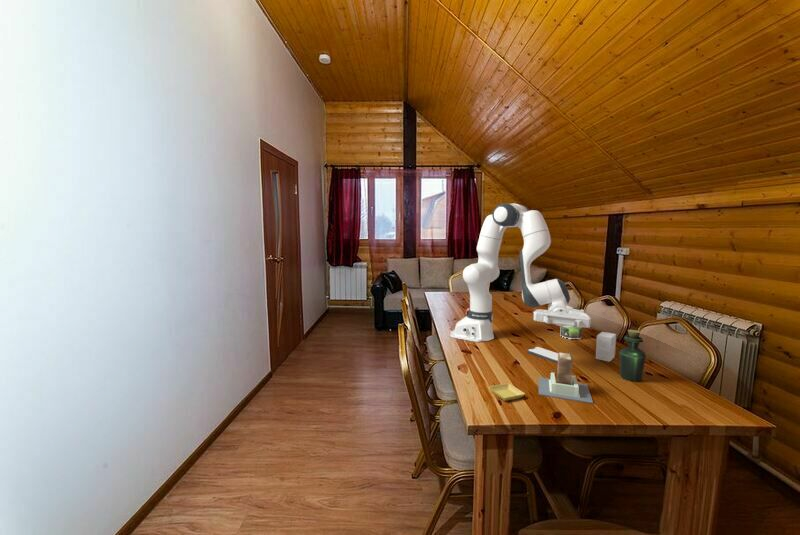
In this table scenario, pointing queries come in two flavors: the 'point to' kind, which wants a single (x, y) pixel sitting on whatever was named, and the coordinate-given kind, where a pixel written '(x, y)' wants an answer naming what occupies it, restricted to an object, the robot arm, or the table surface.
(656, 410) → the table surface
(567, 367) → the tall wooden pillar
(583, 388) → the mat
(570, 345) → the table surface
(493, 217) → the robot arm
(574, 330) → the coffee can
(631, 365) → the potion bottle
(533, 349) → the smartphone
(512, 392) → the yellow square tray
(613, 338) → the small box
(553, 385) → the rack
